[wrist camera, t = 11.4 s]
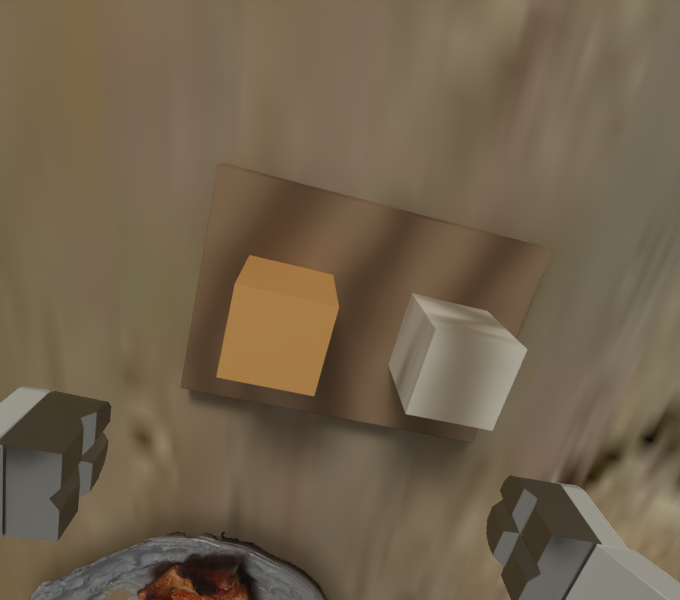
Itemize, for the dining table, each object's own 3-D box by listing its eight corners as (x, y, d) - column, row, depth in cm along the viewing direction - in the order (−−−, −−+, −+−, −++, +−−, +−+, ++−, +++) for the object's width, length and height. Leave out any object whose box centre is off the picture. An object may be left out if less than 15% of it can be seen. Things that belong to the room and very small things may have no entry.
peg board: (540, 246, 29) (609, 278, 22) (465, 429, 33) (504, 502, 26) (222, 163, 26) (193, 172, 19) (186, 376, 30) (152, 442, 24)
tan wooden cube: (333, 274, 27) (339, 307, 22) (313, 349, 28) (314, 396, 23) (249, 254, 26) (234, 283, 21) (233, 332, 28) (216, 377, 22)
